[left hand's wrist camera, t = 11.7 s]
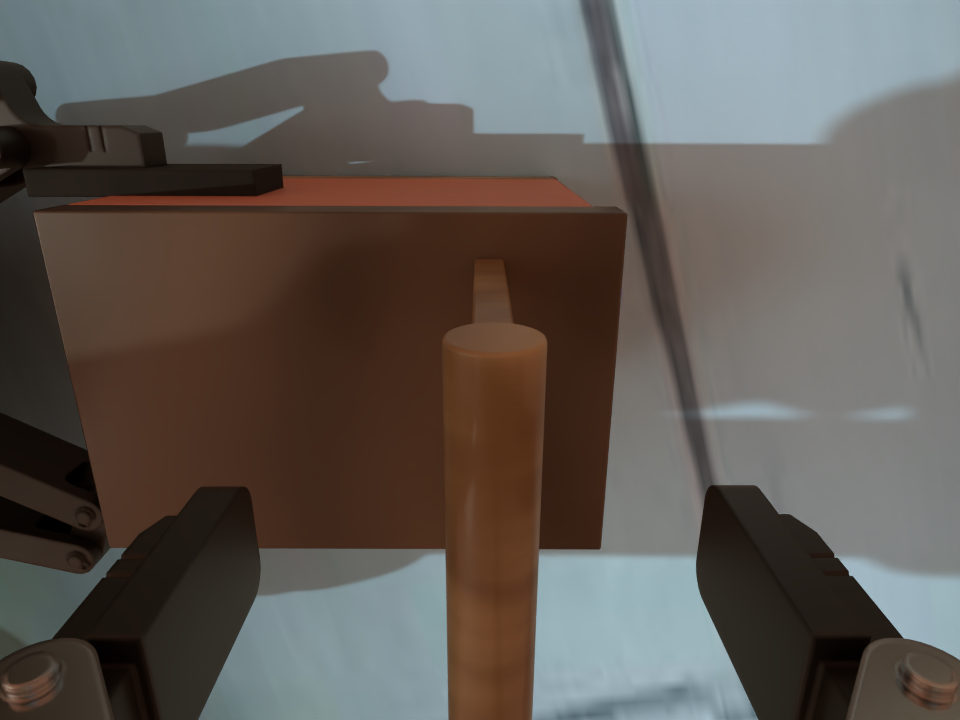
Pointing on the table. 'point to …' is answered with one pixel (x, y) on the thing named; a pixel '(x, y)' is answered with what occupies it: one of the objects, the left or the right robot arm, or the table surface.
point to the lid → (357, 387)
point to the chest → (385, 193)
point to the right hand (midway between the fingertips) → (286, 339)
